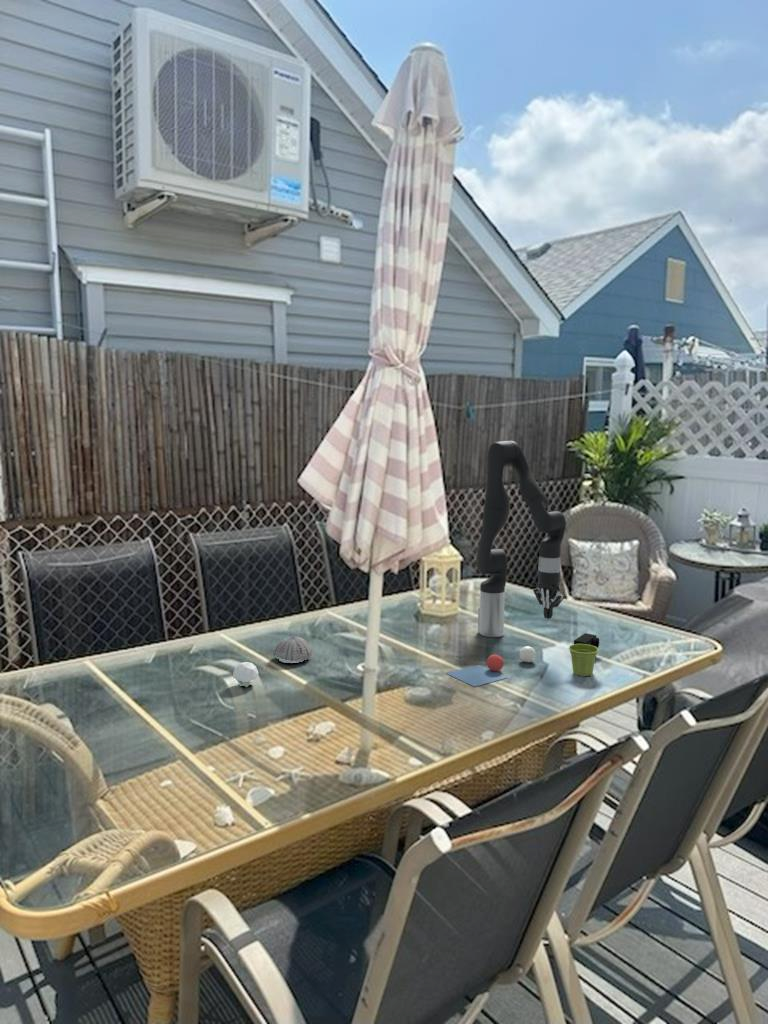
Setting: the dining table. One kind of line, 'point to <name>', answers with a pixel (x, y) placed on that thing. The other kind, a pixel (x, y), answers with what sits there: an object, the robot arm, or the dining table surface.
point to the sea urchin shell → (293, 649)
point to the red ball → (495, 662)
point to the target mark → (476, 675)
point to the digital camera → (587, 640)
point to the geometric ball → (245, 672)
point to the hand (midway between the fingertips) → (548, 618)
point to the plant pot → (583, 658)
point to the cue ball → (527, 654)
